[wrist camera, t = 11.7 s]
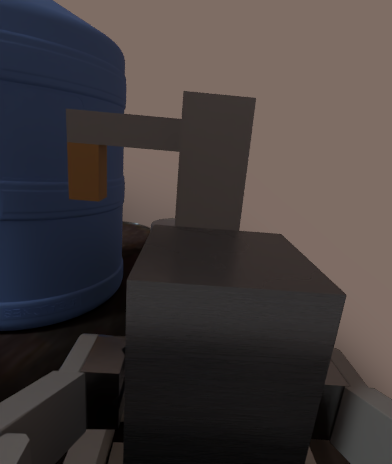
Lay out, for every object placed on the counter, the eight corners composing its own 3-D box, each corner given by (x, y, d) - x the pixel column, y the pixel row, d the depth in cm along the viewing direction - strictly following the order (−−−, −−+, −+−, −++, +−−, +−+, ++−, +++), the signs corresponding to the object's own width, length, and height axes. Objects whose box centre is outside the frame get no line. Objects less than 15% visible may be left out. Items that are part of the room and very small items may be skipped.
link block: (119, 639, 8) (126, 279, 5) (142, 481, 12) (154, 224, 9) (260, 641, 8) (346, 294, 5) (238, 485, 12) (281, 234, 9)
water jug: (103, 251, 38) (102, 1, 30) (145, 311, 25) (162, -97, 18) (-50, 266, 30) (-102, -65, 23) (-104, 363, 17) (-265, -330, 10)
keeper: (-104, 762, 6) (-520, -231, 2) (88, 361, 19) (82, 93, 14) (395, 759, 7) (861, -51, 3) (263, 370, 19) (308, 114, 15)
